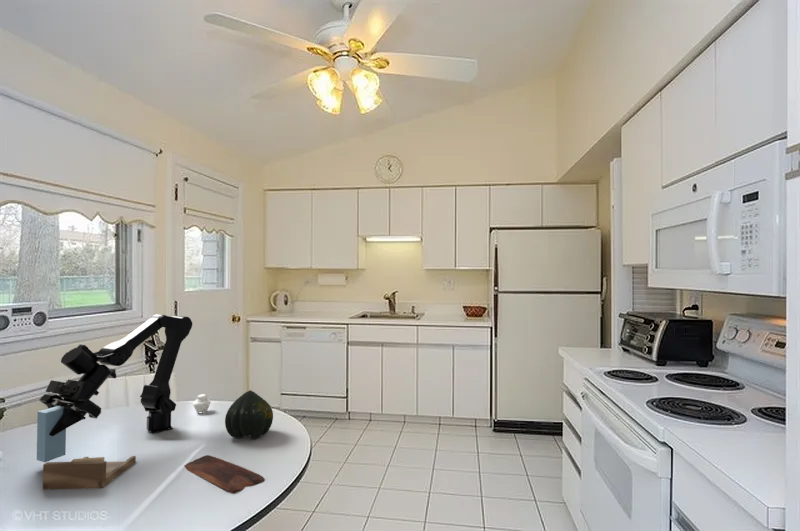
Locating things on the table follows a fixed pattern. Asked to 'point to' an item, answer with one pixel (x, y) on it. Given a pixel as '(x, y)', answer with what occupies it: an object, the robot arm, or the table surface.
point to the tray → (82, 473)
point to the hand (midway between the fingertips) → (46, 434)
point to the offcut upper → (88, 459)
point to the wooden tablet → (223, 473)
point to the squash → (249, 416)
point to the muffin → (201, 403)
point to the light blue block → (49, 444)
